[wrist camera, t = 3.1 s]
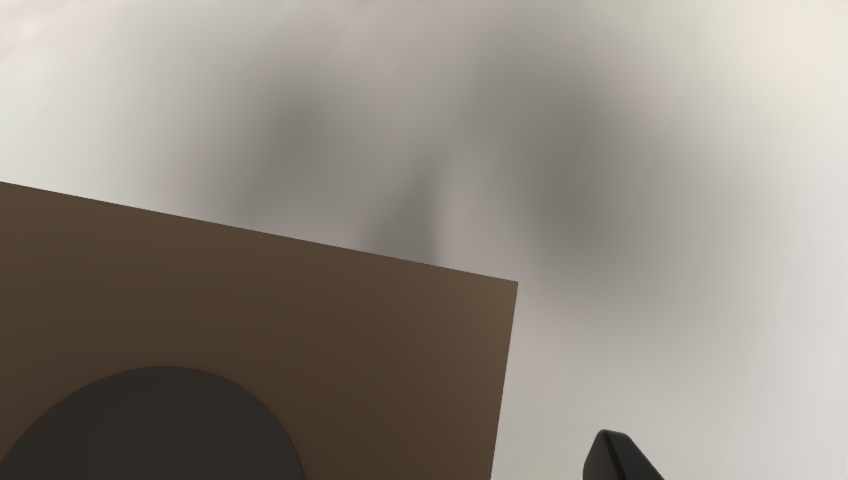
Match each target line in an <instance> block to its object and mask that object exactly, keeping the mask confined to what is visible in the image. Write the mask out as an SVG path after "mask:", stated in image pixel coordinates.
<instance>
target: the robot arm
mask: <svg viewBox="0 0 848 480" xmlns="http://www.w3.org/2000/svg"><path fill="white" fill-rule="evenodd" d="M583 480H664V478H663V477H662V476H661V475H660V473H659V472H658V471H657V470H656V469H655V467H654V466H653V465H652V464H651V463H650V461H649V460H648V459H647V458H646V456H645V455H644V454H643V453H642V452H641V450H640V449H639V448H638V447H637V446H636V444H635V443H634V442H633V441H632V439H631V438H630V437H629V436H627V435H626V434H624V433H620V432H615V431H611V430H606V429H604V430H600V431H599V432H598V434H597V435H596V438H595V440H594V442H593V445H592V447H591V449H590V451H589V454H588V456H587V458H586V461H585V463H584V468H583Z"/></svg>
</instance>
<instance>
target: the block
mask: <svg viewBox="0 0 848 480" xmlns="http://www.w3.org/2000/svg"><path fill="white" fill-rule="evenodd" d="M517 287H518V282H515V281H510V280H505V279H500V278H495V277H489V276H484V275H479V274H474V273H469V272H464V271H459V270H453V269H448V268H443V267H438V266H433V265H428V264H423V263H417V262H412V261H407V260H402V259H397V258H392V257H387V256H381V255H376V254H371V253H366V252H361V251H356V250H350V249H345V248H340V247H335V246H330V245H325V244H320V243H314V242H309V241H304V240H299V239H294V238H289V237H284V236H278V235H273V234H268V233H263V232H258V231H253V230H248V229H242V228H237V227H232V226H227V225H222V224H217V223H212V222H206V221H201V220H196V219H191V218H186V217H181V216H176V215H170V214H165V213H160V212H155V211H150V210H145V209H140V208H134V207H129V206H124V205H119V204H114V203H109V202H104V201H98V200H93V199H88V198H83V197H78V196H73V195H68V194H62V193H57V192H52V191H47V190H42V189H37V188H32V187H26V186H21V185H16V184H11V183H6V182H1V181H0V480H490V478H491V471H492V464H493V457H494V450H495V443H496V436H497V429H498V422H499V415H500V408H501V401H502V393H503V386H504V379H505V372H506V365H507V358H508V351H509V344H510V337H511V330H512V323H513V316H514V309H515V301H516V294H517Z"/></svg>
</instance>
